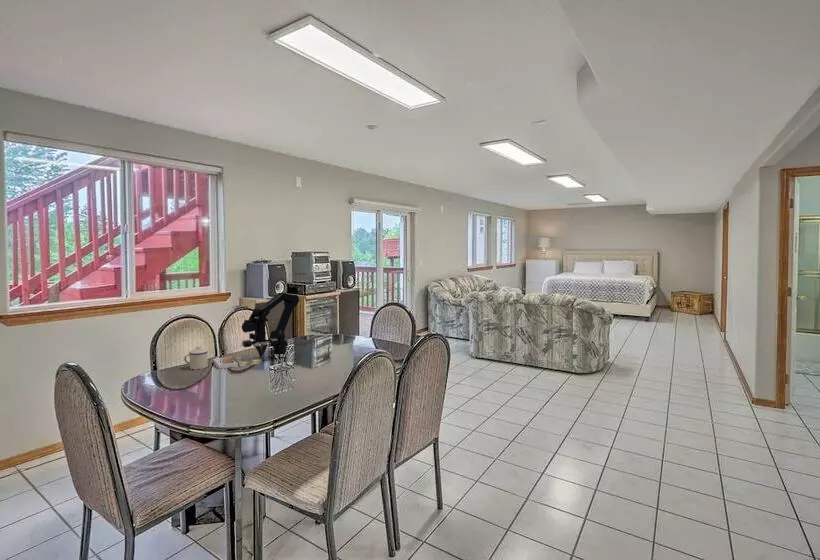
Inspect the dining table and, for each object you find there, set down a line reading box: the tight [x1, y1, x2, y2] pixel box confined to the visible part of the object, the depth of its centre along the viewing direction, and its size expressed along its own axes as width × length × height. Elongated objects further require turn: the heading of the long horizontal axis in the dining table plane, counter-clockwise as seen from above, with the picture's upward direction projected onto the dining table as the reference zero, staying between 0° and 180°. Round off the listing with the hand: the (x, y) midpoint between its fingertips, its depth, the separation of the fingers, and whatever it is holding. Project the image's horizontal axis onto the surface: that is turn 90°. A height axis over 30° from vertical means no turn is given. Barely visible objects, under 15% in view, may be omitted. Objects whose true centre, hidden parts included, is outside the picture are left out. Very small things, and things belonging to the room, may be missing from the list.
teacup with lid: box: [183, 345, 209, 371], centre depth 233 cm, size 12×9×12 cm
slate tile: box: [240, 354, 253, 362], centre depth 242 cm, size 5×5×2 cm
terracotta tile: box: [221, 355, 234, 364], centre depth 243 cm, size 5×5×2 cm
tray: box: [212, 356, 239, 370], centre depth 240 cm, size 10×16×2 cm, turn 34°
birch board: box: [232, 354, 263, 367], centre depth 246 cm, size 12×16×2 cm
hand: (260, 357), depth 246 cm, fingers closed
